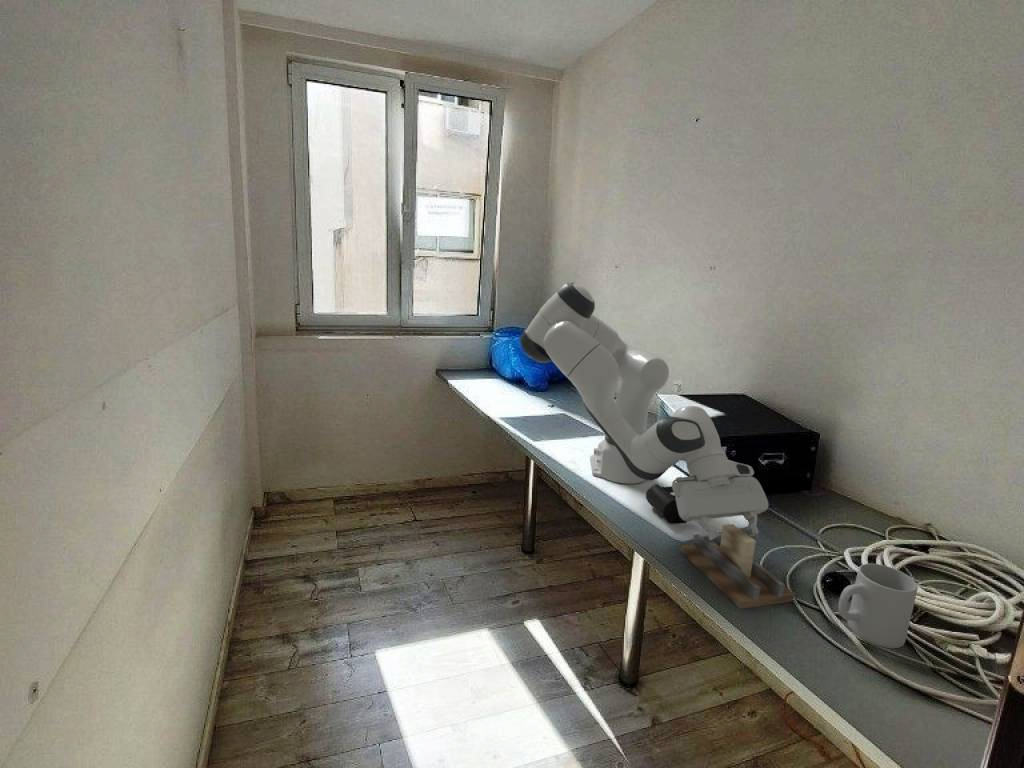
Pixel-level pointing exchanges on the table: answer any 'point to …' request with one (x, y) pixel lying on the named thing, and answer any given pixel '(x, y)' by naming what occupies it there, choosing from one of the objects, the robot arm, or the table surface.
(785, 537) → the table surface
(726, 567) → the track board
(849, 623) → the mug
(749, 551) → the beige rectangular block
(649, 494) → the black notched cylinder
